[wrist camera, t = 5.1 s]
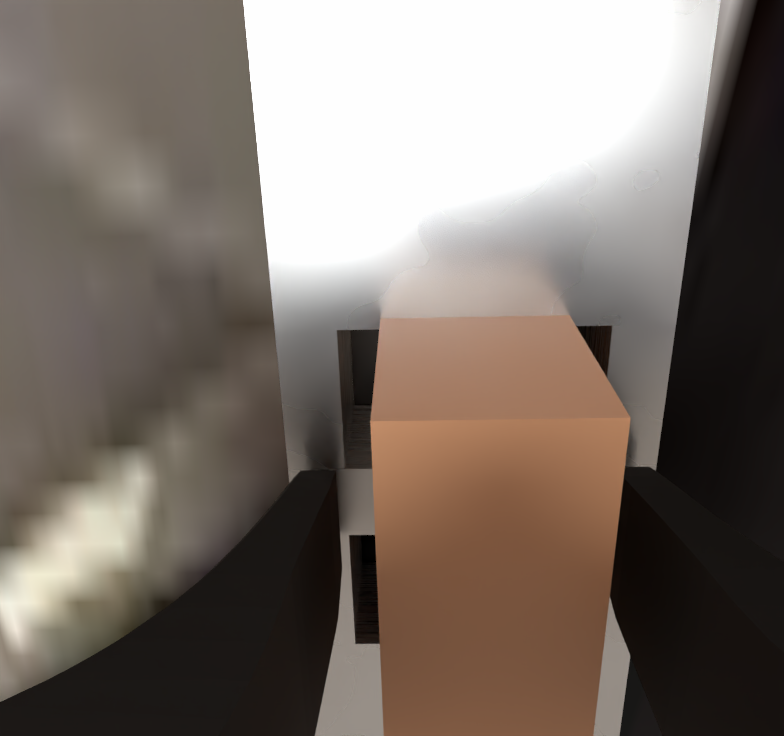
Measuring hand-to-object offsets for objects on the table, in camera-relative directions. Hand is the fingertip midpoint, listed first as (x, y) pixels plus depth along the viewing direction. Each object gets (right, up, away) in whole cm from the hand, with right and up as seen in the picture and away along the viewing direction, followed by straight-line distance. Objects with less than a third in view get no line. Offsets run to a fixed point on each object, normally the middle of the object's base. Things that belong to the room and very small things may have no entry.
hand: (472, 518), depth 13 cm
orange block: (0, +1, +3) cm, 3 cm away
